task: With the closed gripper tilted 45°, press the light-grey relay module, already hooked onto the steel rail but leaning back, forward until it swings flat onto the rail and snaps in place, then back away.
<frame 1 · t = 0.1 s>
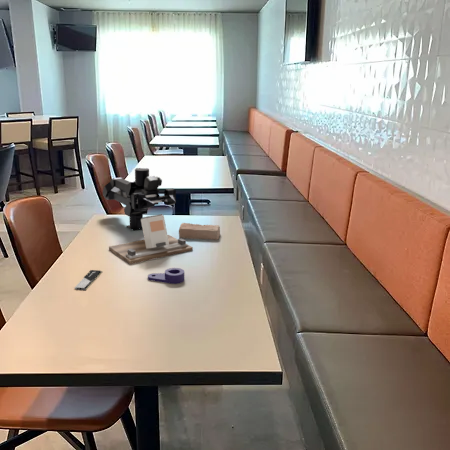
hand: (164, 203, 180), 16 cm above the table, tool horizontal, fingers open, 9 cm apart
relay module: (155, 231, 173), point 8 cm above the table, hinge at -20.0°
computer memory module: (88, 282, 151), on the table
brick: (199, 237, 196), on the table
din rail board: (150, 249, 179), on the table
lever: (166, 280, 153), on the table
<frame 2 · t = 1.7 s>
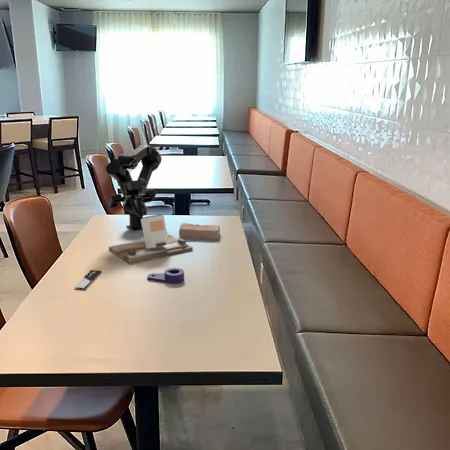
hand: (139, 216, 182), 11 cm above the table, tool tilted 45°, fingers closed
nothing on the table moved.
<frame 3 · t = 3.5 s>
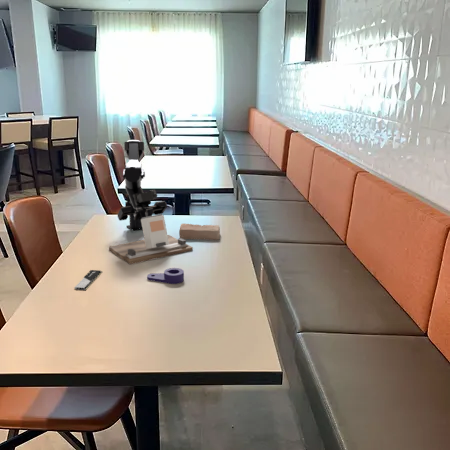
hand: (150, 229, 176), 8 cm above the table, tool tilted 45°, fingers closed, pressing on relay module
relay module: (155, 231, 173), point 8 cm above the table, hinge at -20.0°, touching gripper
everything else where it was.
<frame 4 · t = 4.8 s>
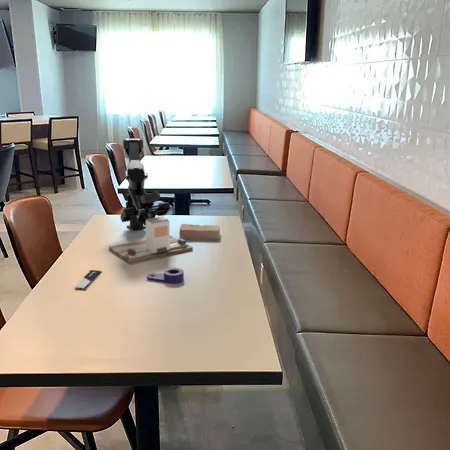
hand: (153, 231, 174), 8 cm above the table, tool tilted 45°, fingers closed
relay module: (158, 234, 172), point 8 cm above the table, hinge at 0.7°
everything else where it was.
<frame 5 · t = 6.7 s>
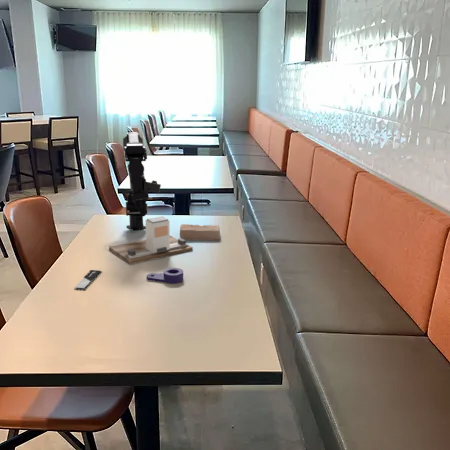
hand: (143, 216, 184), 11 cm above the table, tool pointing down, fingers closed
nothing on the table moved.
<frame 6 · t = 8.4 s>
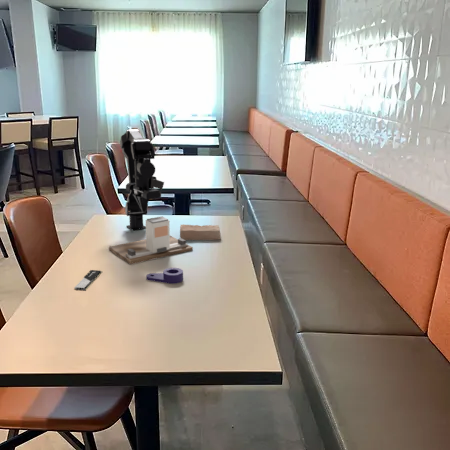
hand: (143, 211, 185), 12 cm above the table, tool pointing down, fingers closed
at the end: relay module at +1° (first picture: -20°); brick moved 1.4 cm from its start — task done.
